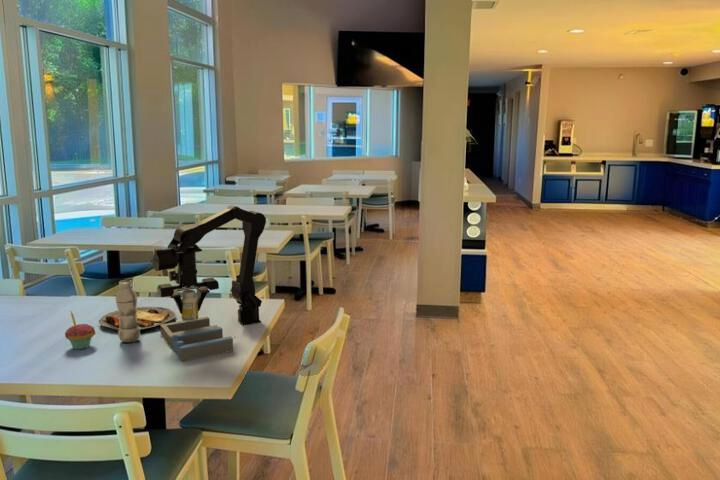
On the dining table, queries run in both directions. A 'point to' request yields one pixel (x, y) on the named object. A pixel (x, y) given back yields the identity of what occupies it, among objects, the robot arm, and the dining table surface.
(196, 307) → the supplement bottle
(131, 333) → the plastic bottle
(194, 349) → the grey square frame
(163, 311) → the food plate
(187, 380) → the dining table surface
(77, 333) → the cupcake
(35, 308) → the dining table surface
